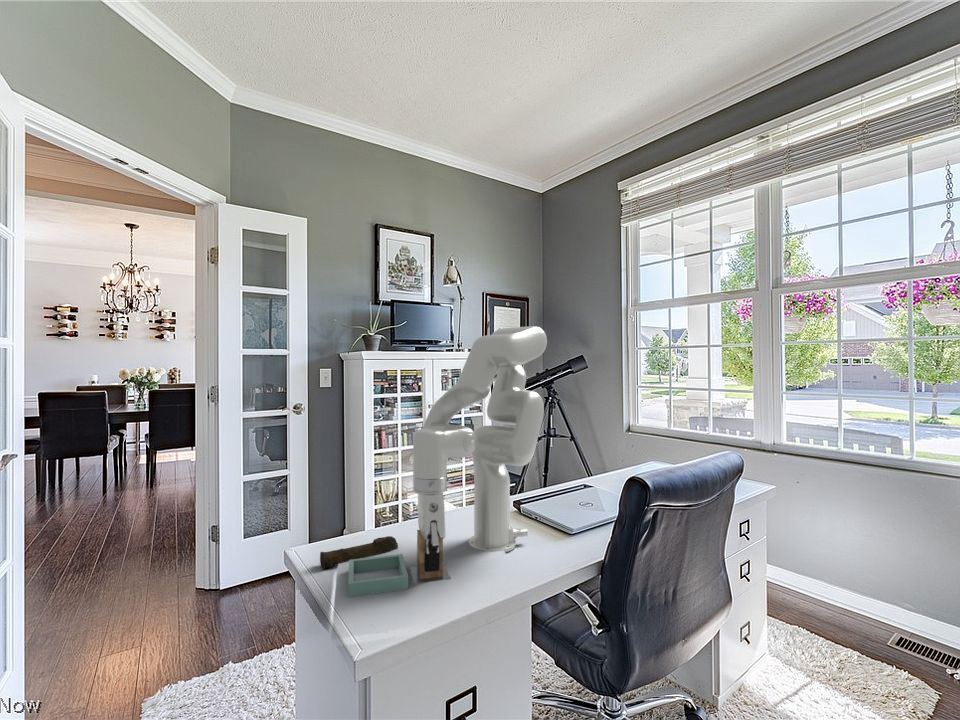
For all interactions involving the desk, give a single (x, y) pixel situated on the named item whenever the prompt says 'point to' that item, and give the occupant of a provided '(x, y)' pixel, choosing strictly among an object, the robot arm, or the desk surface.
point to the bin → (378, 583)
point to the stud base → (418, 580)
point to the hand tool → (358, 551)
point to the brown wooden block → (421, 557)
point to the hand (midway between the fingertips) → (429, 564)
